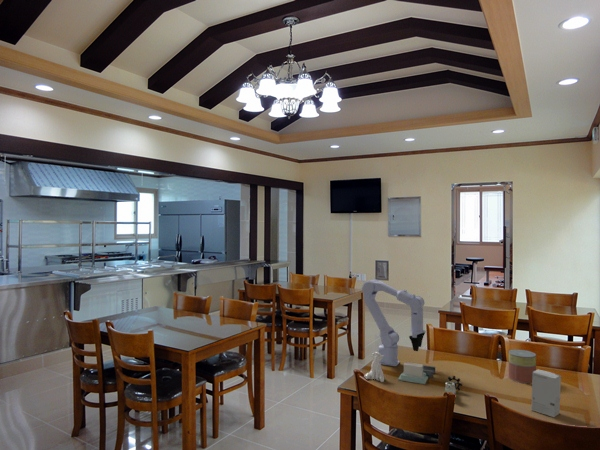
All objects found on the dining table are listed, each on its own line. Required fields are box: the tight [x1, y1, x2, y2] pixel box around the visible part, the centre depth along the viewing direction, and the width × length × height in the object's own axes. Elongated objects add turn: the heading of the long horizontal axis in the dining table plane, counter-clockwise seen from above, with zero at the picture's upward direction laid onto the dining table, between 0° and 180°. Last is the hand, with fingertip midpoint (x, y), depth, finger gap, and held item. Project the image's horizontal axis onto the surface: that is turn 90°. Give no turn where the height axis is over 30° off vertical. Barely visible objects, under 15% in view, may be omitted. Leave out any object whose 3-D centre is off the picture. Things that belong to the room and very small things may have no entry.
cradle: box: [397, 372, 429, 385], centre depth 190 cm, size 12×8×2 cm, turn 63°
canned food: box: [508, 349, 537, 385], centre depth 189 cm, size 11×11×12 cm
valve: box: [444, 375, 463, 395], centre depth 171 cm, size 7×7×12 cm
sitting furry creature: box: [363, 351, 385, 383], centre depth 192 cm, size 10×9×12 cm
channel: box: [423, 364, 437, 379], centre depth 196 cm, size 6×7×3 cm
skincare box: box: [530, 368, 562, 418], centre depth 156 cm, size 8×6×15 cm
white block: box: [403, 361, 424, 377], centre depth 190 cm, size 8×4×6 cm, turn 63°
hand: (417, 348), depth 204 cm, fingers open, 7 cm apart
